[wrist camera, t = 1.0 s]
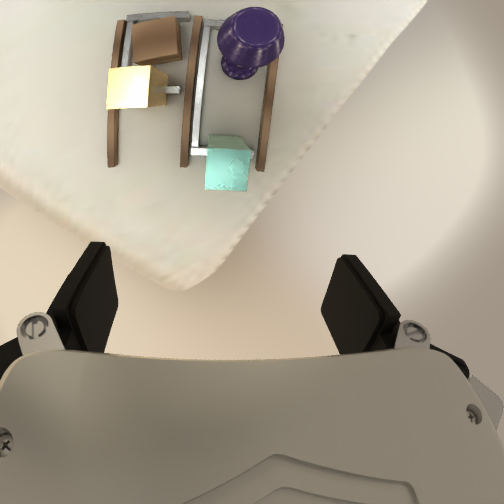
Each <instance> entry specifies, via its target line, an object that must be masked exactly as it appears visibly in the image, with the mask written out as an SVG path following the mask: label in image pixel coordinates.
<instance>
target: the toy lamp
mask: <svg viewBox="0 0 504 504" xmlns="http://www.w3.org/2000/svg"><path fill="white" fill-rule="evenodd" d="M217 42H218V47H219V49H220V51H221V53H222V55H223V57H222V60H221V66H222V69H223V71H224V73H225V74H226V75H227V76H229V77H230V78H233V79H236V80H244V79H248V78H250V77H252V76H253V75H254V74H255V73H256V71H257V70H258V67H262V66H265V65H267V64H269V63H271V62H272V61H274V60H275V59H276V58H277V57H278V56H279V54H280V53H281V51H282V49H283V46H284V32H283V28H282V25H281V22H280V20H279V19H278V17H277V16H276V15H275V14H274V13H273V12H271V11H270V10H268V9H265V8H261V7H249V8H245V9H242V10H240V11H238V12H236V13H235V14H233V15H232V16H230V17H229V18H228V19H226V20H225V21H224V23H223V24H222V25H221V27H220V29H219V32H218V37H217Z"/></svg>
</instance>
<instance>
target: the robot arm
mask: <svg viewBox="0 0 504 504" xmlns="http://www.w3.org/2000/svg"><path fill="white" fill-rule="evenodd" d="M117 308H118V297H117V291H116V285H115V280H114V273H113V266H112V259H111V251H110V247H109V246H106V244H105V242H90V244H89V245H88V247H87V248H86V250H85V251H84V253H83V254H82V256H81V257H80V259H79V260H78V262H77V263H76V265H75V267H74V268H73V270H72V271H71V273H70V274H69V275H68V276H67V278H66V280H65V281H64V283H63V285H62V286H61V288H60V290H59V291H58V293H57V295H56V297H55V298H54V300H53V302H52V304H51V305H50V307H49V309H48V311H47V313H42V312H35V313H31V314H29V315H27V316H25V317H24V318H23V319H22V320H21V321H20V323H19V324H18V327H17V338H15V339H13V340H11V341H9V342H7V343H5V344H3V345H1V346H0V504H504V448H503V445H502V443H501V440H500V438H499V436H498V434H497V432H496V429H497V427H498V424H499V421H500V418H501V415H502V412H503V403H502V401H501V399H500V398H499V397H498V395H496V394H495V393H494V392H493V391H492V390H490V389H489V388H488V387H487V386H485V385H484V384H483V383H482V382H480V381H479V380H478V379H477V378H476V377H474V376H473V375H472V376H471V377H469V369H468V367H467V365H466V363H465V362H464V361H463V360H462V359H460V358H458V357H456V356H454V355H452V354H450V353H448V352H446V351H444V350H442V349H440V348H438V347H435V346H434V345H432V344H430V334H429V332H428V330H427V329H426V328H425V327H424V326H423V325H421V324H420V323H418V322H416V321H413V320H405V321H403V322H401V323H400V321H399V318H400V316H401V314H400V313H399V311H398V310H397V309H396V307H395V306H394V305H393V303H392V302H391V301H390V299H389V298H388V297H387V295H386V294H385V292H384V291H383V290H382V288H381V287H380V286H379V284H378V283H377V282H376V280H375V279H374V278H373V276H372V275H371V274H370V272H369V271H368V270H367V269H366V267H365V266H364V265H363V264H362V262H361V261H360V260H359V259H358V257H357V256H356V255H346V254H344V255H342V256H341V258H338V259H337V262H336V264H335V268H334V271H333V274H332V277H331V280H330V283H329V286H328V289H327V292H326V295H325V298H324V300H323V303H322V306H321V313H322V315H323V318H324V320H325V322H326V324H327V326H328V329H329V331H330V333H331V335H332V337H333V340H334V342H335V344H336V347H337V349H338V351H339V353H340V355H331V356H320V357H306V358H291V359H268V360H267V359H266V360H193V359H170V358H154V357H141V356H130V355H119V354H109V353H104V350H105V347H106V343H107V340H108V336H109V333H110V330H111V327H112V324H113V321H114V318H115V314H116V311H117Z"/></svg>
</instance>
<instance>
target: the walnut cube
mask: <svg viewBox="0 0 504 504" xmlns="http://www.w3.org/2000/svg"><path fill="white" fill-rule="evenodd" d="M131 28H132V49H133V63H135V64H138V65H140V66H148V65H155V64H161V63H166V62H172V61H178V60H182V52H181V37H180V25H179V23H178V21H177V19H176V17H175V16H171V17H165V18H160V19H155V20H150V21H146V22H141V23H137V24H133V25H131Z"/></svg>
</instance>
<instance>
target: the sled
mask: <svg viewBox="0 0 504 504" xmlns="http://www.w3.org/2000/svg"><path fill="white" fill-rule="evenodd" d="M171 16H175V17H176V19H177V21H178V22H189V21H190V13H189V11H183V12H156V13H143V14H133V15H127V19H126V21H127V28H126V35H125V41H124V49H123V57H122V66H121V68H111V69H109V77H108V89H107V107H106V109H118V108H135V107H152V106H163V105H166V102H167V94H181V87H180V86H168V79H169V75H167V74H165V73H163V72H162V71H160V70H158V69H156V68H154V67H153V66H151V65H148V66H132V67H130V63H131V54H132V28H131V25H133V24H137V23H141V22H146V21H150V20H155V19H160V18H165V17H171Z"/></svg>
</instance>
